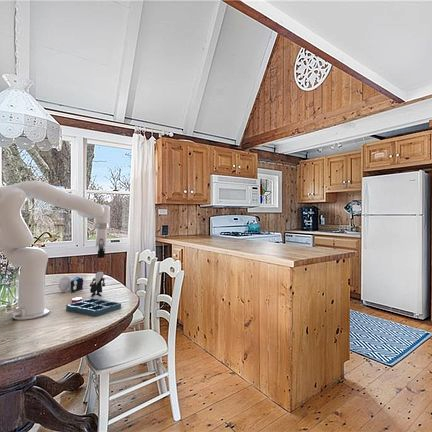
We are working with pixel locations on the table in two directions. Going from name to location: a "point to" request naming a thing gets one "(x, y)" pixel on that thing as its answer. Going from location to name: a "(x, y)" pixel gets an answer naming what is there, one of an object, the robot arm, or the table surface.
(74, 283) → the toy
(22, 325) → the table surface
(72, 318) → the table surface
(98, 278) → the toy
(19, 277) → the robot arm
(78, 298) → the cylinder
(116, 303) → the grid
